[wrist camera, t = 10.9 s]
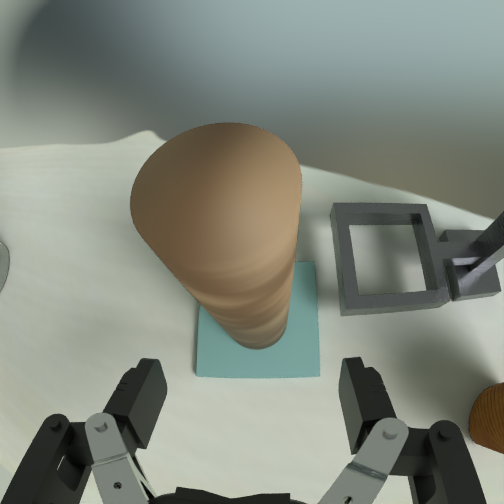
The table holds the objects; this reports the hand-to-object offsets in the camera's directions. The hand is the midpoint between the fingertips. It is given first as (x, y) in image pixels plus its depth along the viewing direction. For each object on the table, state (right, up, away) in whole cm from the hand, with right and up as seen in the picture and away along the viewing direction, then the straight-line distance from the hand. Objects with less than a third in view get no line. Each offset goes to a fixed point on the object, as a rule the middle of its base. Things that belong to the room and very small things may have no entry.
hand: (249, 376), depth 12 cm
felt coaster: (+1, 0, +13) cm, 13 cm away
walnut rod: (0, 0, +12) cm, 12 cm away
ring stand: (+16, +4, +13) cm, 21 cm away
